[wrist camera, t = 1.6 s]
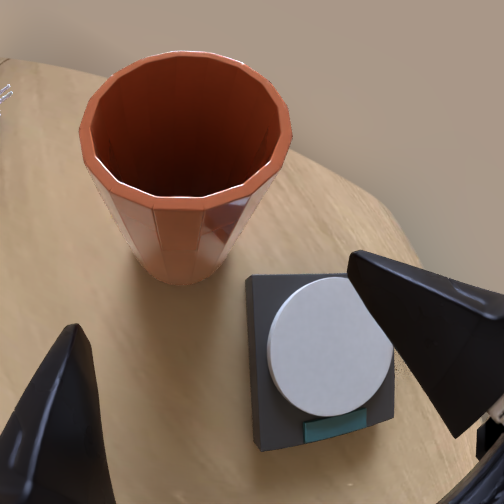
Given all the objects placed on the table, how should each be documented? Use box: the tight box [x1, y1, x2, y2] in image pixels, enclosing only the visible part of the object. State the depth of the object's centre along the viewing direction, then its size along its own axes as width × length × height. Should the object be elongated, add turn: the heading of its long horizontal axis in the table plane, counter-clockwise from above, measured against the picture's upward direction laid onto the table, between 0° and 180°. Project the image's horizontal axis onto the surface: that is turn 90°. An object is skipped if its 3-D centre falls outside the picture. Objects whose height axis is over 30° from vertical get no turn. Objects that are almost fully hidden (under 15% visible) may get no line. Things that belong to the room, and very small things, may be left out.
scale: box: [245, 273, 395, 452], centre depth 19 cm, size 12×11×3 cm
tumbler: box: [79, 51, 293, 286], centre depth 14 cm, size 7×7×13 cm
